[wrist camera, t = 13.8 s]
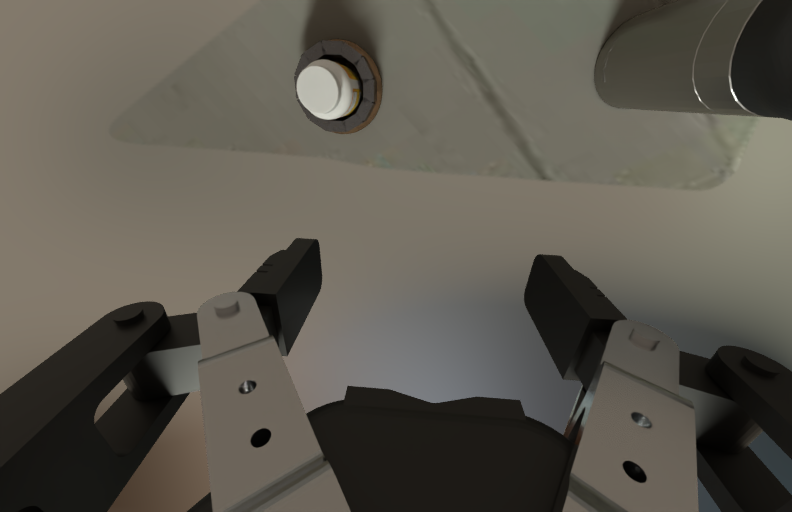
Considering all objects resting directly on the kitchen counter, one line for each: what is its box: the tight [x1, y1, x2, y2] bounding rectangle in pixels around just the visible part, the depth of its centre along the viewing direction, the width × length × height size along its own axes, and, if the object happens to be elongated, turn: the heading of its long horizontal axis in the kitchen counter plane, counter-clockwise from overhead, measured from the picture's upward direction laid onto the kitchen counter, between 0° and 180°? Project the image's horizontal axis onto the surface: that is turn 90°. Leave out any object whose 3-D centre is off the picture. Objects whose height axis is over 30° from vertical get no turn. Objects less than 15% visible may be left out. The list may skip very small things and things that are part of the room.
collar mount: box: [294, 39, 382, 134], centre depth 35 cm, size 10×10×4 cm
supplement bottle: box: [297, 59, 362, 120], centre depth 32 cm, size 5×5×10 cm
